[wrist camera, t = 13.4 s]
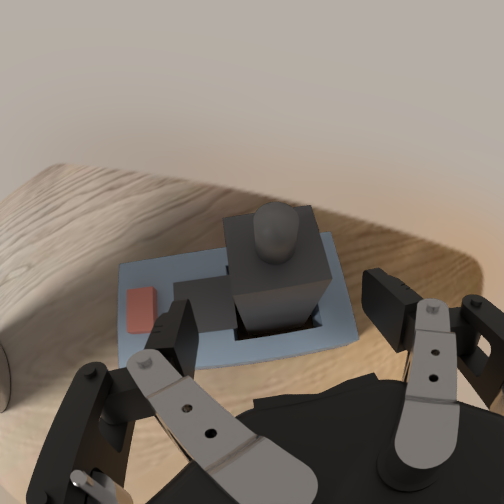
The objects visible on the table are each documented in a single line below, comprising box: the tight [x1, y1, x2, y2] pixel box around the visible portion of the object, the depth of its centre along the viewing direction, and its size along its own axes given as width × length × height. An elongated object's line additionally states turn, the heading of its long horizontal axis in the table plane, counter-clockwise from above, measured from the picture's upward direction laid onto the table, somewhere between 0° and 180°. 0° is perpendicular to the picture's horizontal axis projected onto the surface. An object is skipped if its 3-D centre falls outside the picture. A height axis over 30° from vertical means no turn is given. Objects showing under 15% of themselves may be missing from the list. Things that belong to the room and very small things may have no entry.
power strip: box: [118, 232, 359, 370], centre depth 18 cm, size 16×8×4 cm, turn 98°
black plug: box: [223, 202, 333, 336], centre depth 15 cm, size 4×4×12 cm
